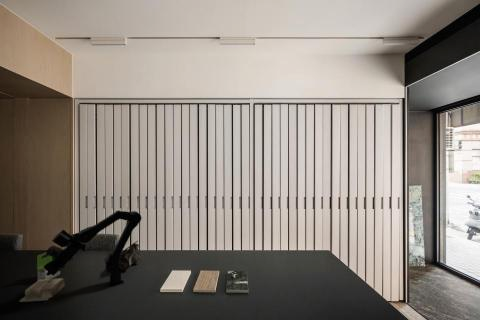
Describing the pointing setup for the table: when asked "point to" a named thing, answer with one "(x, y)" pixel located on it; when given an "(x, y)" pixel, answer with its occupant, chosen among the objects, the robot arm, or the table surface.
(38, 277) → the ink box
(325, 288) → the table surface
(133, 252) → the hollow geode rock
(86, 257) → the table surface
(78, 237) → the robot arm
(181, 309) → the table surface
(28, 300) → the mat
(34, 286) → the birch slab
